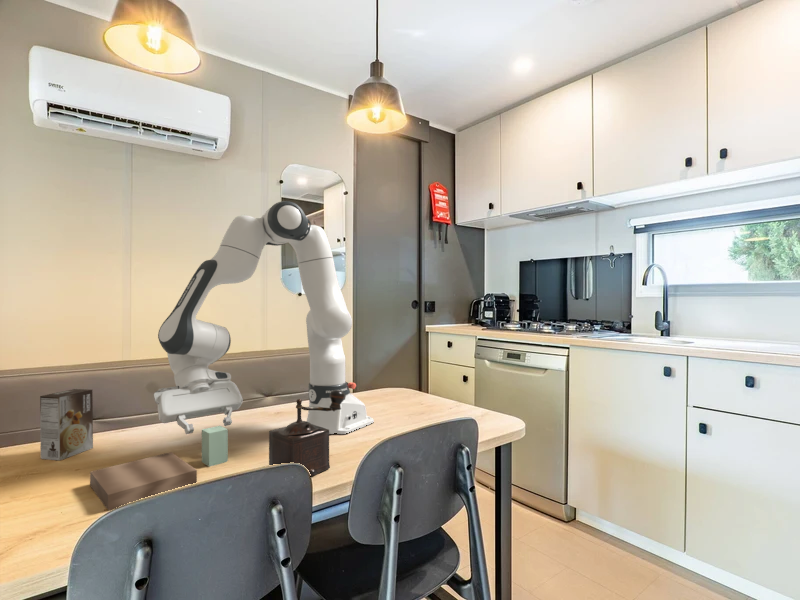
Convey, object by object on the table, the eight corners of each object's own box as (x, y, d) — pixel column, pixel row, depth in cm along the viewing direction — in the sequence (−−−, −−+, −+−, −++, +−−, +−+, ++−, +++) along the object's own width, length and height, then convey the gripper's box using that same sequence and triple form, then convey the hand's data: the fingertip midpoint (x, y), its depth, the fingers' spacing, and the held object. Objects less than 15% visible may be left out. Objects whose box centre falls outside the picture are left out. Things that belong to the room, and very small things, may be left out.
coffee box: (74, 446, 113) (74, 388, 113) (93, 448, 112) (94, 389, 112) (38, 459, 104) (39, 395, 104) (59, 461, 103) (60, 396, 103)
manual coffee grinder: (294, 484, 89) (293, 400, 89) (267, 470, 97) (267, 393, 97) (349, 463, 100) (349, 389, 101) (321, 452, 108) (321, 384, 108)
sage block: (219, 457, 105) (219, 425, 105) (227, 461, 102) (227, 429, 102) (201, 461, 102) (201, 429, 102) (209, 466, 99) (209, 433, 99)
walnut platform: (171, 464, 100) (171, 452, 100) (196, 483, 89) (196, 469, 89) (90, 485, 89) (90, 471, 89) (108, 510, 78) (108, 494, 78)
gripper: (154, 382, 102) (167, 430, 95) (235, 372, 116) (252, 413, 110) (149, 397, 105) (161, 445, 98) (228, 386, 119) (244, 426, 113)
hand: (209, 428), depth 104 cm, fingers open, 8 cm apart
